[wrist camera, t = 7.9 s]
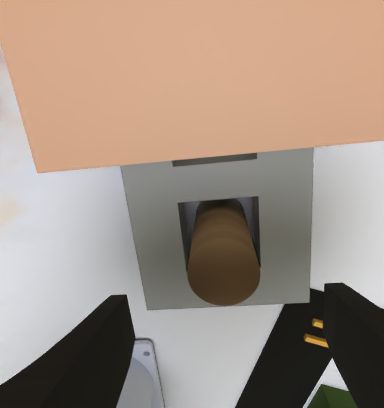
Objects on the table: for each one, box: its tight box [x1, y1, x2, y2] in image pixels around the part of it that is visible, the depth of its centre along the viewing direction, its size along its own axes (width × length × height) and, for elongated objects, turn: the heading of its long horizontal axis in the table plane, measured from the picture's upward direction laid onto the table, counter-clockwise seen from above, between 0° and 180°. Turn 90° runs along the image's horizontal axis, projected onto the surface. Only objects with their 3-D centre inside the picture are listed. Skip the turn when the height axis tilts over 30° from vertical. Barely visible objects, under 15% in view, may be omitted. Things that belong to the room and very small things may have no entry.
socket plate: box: [120, 147, 314, 310], centre depth 17 cm, size 14×10×3 cm
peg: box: [187, 198, 260, 306], centre depth 16 cm, size 3×3×7 cm
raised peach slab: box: [0, 0, 384, 173], centre depth 12 cm, size 6×11×10 cm, turn 96°
